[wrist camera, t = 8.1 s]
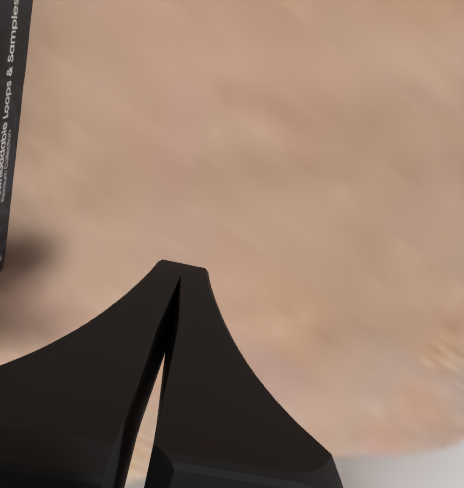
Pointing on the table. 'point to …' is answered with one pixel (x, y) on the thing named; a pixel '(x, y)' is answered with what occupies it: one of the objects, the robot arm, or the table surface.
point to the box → (11, 97)
